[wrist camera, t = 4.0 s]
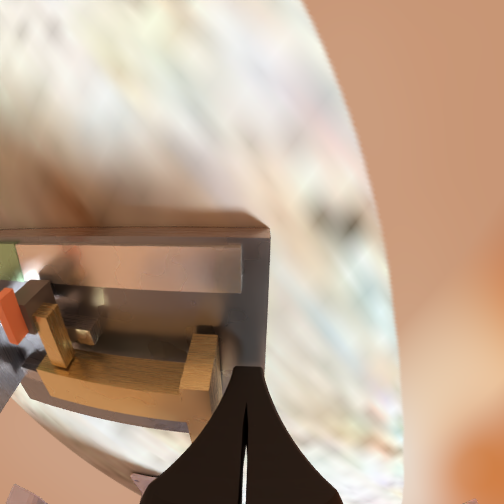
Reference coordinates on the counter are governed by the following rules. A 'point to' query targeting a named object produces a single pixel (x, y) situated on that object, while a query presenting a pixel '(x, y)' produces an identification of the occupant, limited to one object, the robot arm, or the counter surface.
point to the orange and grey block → (23, 308)
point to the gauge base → (139, 299)
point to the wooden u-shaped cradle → (131, 377)
